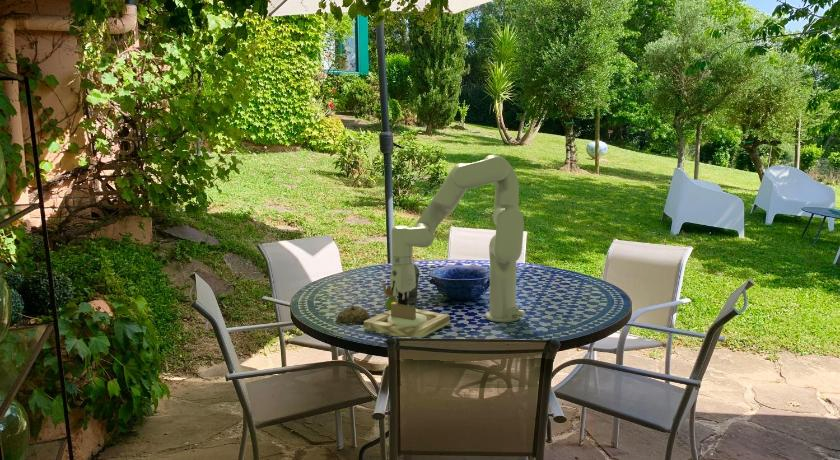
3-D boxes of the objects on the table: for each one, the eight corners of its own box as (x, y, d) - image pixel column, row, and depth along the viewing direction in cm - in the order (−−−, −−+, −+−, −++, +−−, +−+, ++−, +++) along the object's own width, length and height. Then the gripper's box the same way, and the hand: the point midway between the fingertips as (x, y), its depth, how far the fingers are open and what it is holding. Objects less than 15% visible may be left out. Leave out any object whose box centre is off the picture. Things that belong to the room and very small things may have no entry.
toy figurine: (383, 308, 254) (382, 278, 252) (399, 308, 254) (399, 278, 252) (381, 313, 249) (381, 282, 247) (398, 313, 249) (398, 282, 247)
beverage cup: (417, 304, 260) (417, 254, 257) (400, 303, 262) (399, 254, 258) (421, 299, 267) (421, 251, 264) (404, 298, 269) (403, 250, 265)
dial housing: (449, 323, 236) (449, 314, 235) (415, 340, 218) (415, 331, 217) (400, 313, 248) (399, 305, 247) (363, 329, 230) (363, 320, 229)
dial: (434, 320, 235) (434, 303, 234) (412, 331, 223) (412, 313, 222) (402, 314, 242) (402, 297, 241) (379, 324, 231) (379, 307, 230)
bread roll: (369, 324, 237) (369, 311, 236) (335, 325, 236) (334, 312, 235) (369, 313, 249) (369, 301, 248) (337, 314, 248) (336, 302, 248)
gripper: (398, 265, 228) (399, 315, 231) (422, 257, 241) (422, 305, 244) (381, 262, 232) (382, 312, 236) (405, 255, 245) (406, 302, 248)
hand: (403, 308), depth 240 cm, fingers closed
